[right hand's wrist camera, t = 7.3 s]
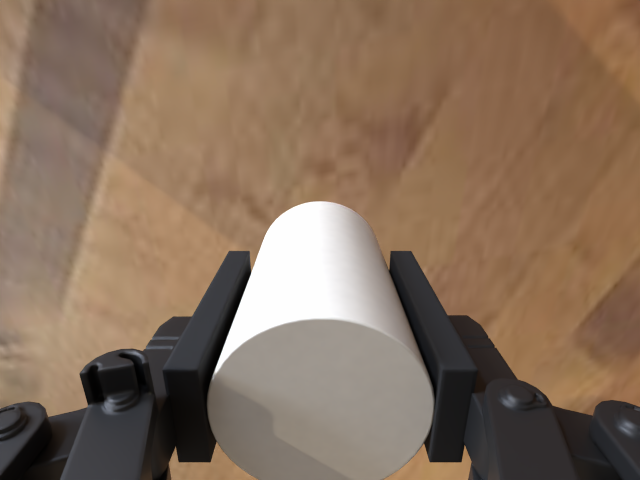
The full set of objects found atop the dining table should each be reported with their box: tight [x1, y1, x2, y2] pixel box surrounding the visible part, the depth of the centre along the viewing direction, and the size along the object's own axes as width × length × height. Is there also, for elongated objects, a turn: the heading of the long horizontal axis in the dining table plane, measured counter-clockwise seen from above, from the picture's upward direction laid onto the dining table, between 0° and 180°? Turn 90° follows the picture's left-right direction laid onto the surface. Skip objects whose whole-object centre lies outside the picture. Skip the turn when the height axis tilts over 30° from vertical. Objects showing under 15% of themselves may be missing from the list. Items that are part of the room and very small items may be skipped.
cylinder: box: [207, 201, 435, 480], centre depth 13 cm, size 5×5×9 cm
